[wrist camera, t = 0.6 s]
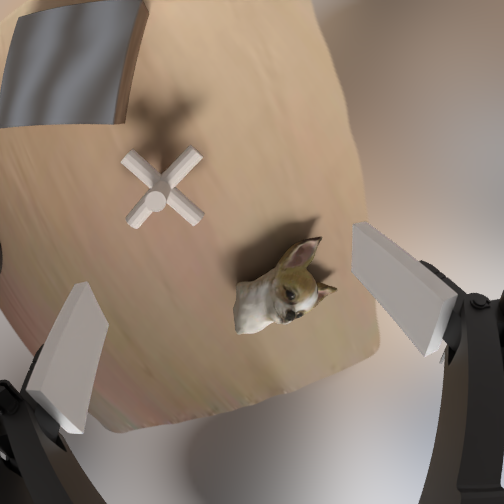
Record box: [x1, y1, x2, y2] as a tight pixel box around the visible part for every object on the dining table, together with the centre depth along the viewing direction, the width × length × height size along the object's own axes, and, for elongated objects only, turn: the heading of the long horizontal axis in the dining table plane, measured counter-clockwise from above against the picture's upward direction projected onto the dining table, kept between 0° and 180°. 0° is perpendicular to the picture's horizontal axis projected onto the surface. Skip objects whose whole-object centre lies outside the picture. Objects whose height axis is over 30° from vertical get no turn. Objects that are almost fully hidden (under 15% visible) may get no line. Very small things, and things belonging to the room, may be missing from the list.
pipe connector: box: [121, 145, 204, 229], centre depth 27 cm, size 10×10×10 cm
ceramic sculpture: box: [233, 237, 337, 334], centre depth 37 cm, size 11×9×15 cm
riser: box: [0, 0, 149, 128], centre depth 21 cm, size 16×14×5 cm
